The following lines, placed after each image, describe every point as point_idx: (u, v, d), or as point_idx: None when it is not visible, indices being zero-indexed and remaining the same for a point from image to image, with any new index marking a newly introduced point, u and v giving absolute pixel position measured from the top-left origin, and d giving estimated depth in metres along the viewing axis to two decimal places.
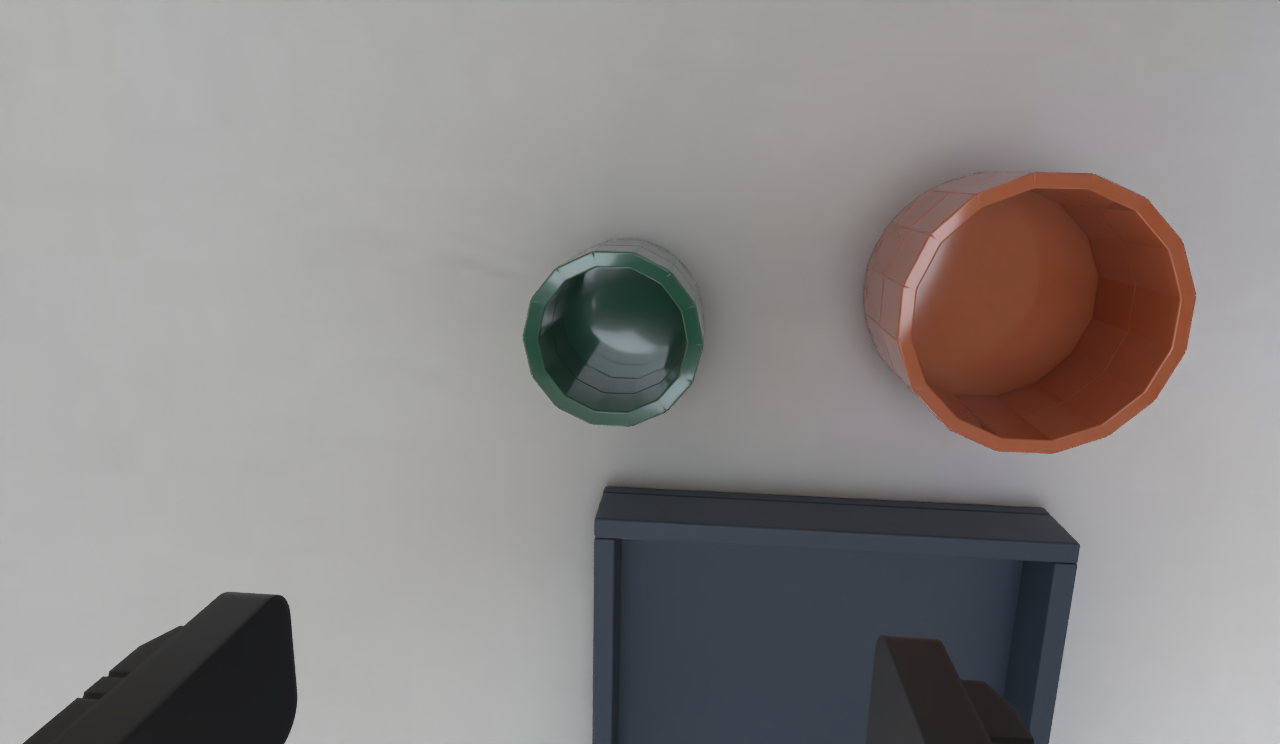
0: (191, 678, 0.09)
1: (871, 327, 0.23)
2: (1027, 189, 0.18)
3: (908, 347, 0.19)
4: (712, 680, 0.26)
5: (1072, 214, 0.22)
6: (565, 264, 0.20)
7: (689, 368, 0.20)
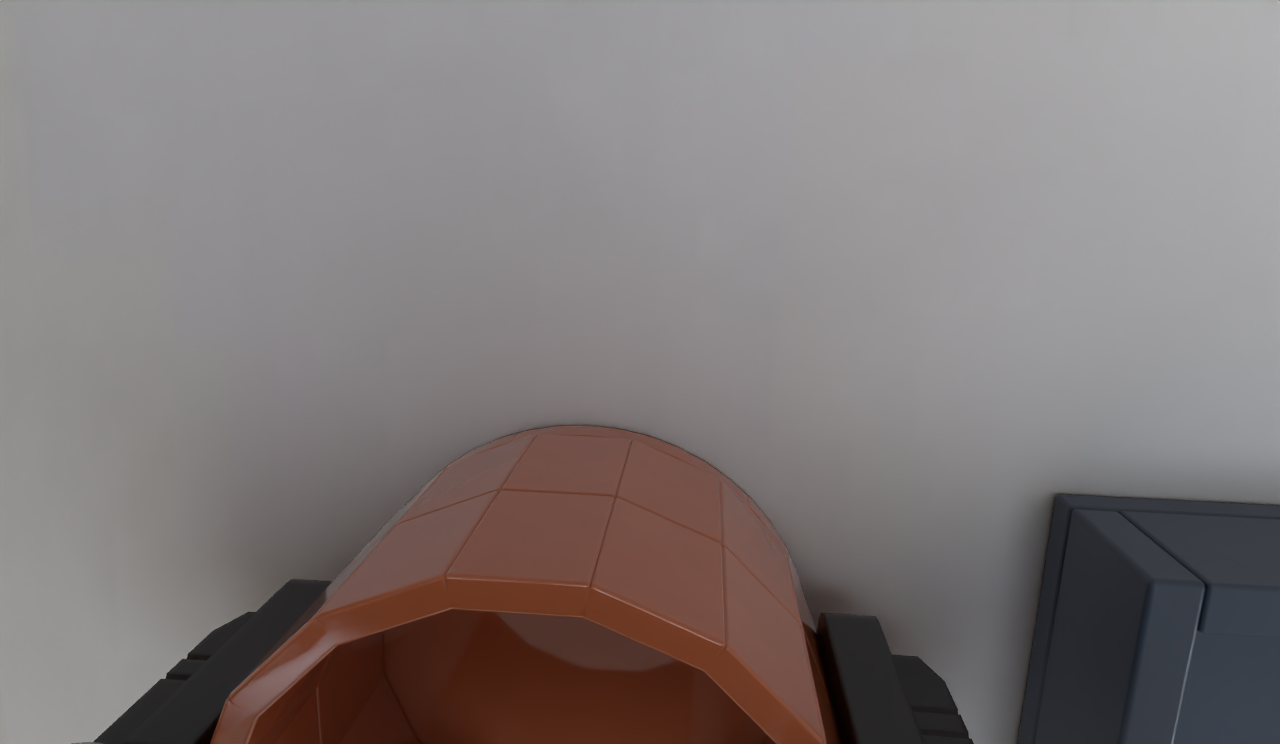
0: None
1: None
2: None
3: None
4: None
5: None
6: None
7: None
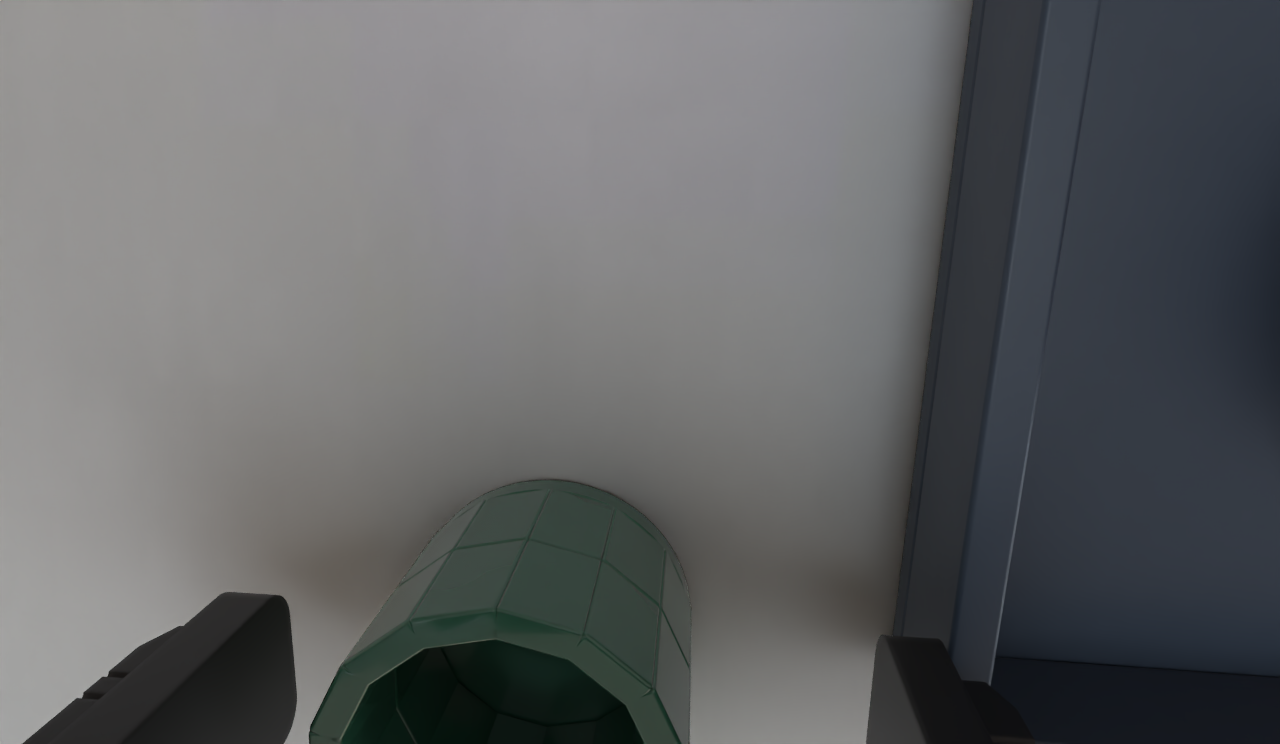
0: (191, 678, 0.09)
1: None
2: None
3: None
4: None
5: None
6: None
7: (552, 637, 0.09)
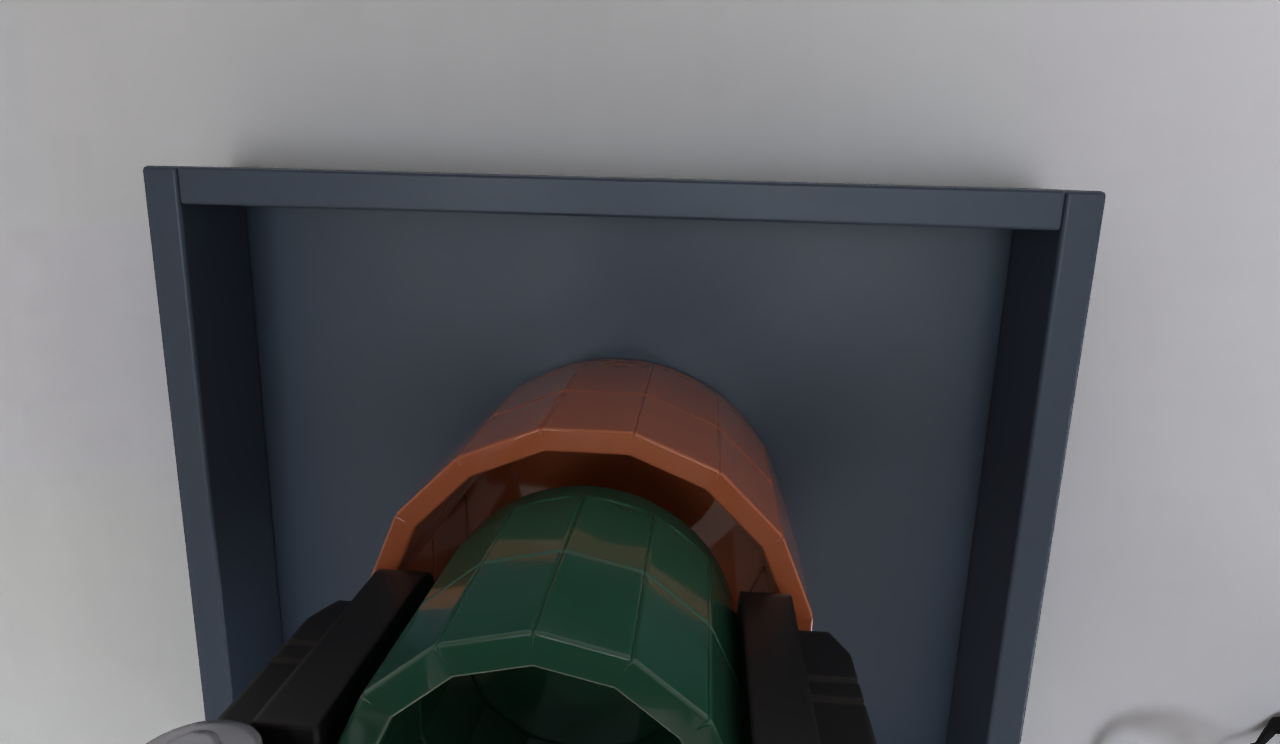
0: (375, 644, 0.10)
1: None
2: None
3: None
4: None
5: None
6: None
7: (596, 663, 0.08)
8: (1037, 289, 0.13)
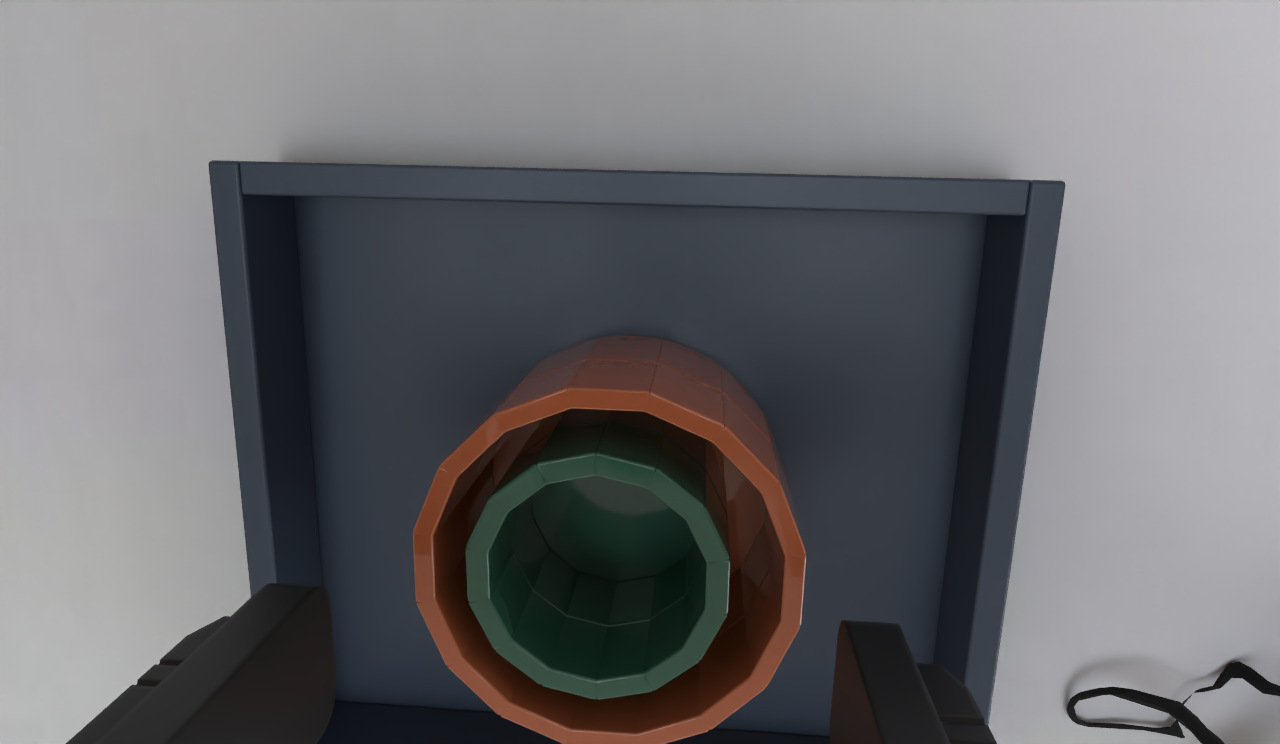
0: (243, 665, 0.09)
1: None
2: (435, 608, 0.14)
3: (647, 739, 0.14)
4: None
5: None
6: (488, 638, 0.14)
7: (634, 472, 0.13)
8: (1007, 269, 0.15)
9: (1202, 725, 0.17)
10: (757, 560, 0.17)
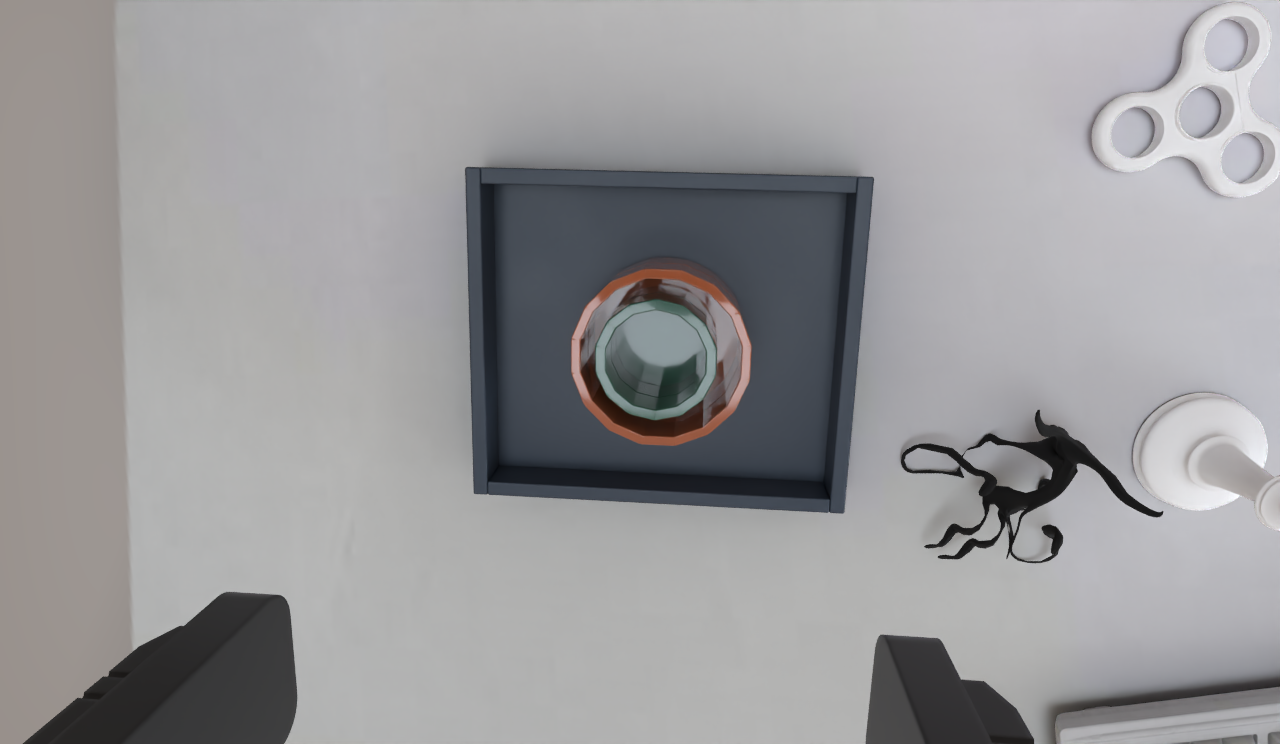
0: (191, 678, 0.09)
1: None
2: (580, 376, 0.30)
3: (679, 439, 0.30)
4: None
5: None
6: (604, 390, 0.30)
7: (673, 308, 0.29)
8: (851, 219, 0.31)
9: (961, 457, 0.33)
10: (732, 370, 0.33)
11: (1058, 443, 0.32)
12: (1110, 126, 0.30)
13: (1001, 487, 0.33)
